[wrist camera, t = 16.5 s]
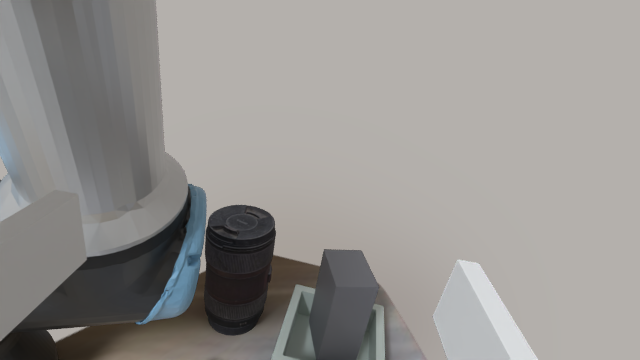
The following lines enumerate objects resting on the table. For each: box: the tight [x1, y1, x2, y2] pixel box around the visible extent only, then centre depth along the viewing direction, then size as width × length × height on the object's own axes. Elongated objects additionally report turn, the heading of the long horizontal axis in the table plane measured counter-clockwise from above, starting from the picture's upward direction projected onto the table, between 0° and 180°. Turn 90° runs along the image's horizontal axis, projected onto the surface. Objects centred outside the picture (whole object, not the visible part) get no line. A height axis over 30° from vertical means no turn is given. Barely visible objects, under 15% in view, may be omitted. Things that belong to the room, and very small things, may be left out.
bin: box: [271, 284, 385, 360], centre depth 41 cm, size 12×12×5 cm
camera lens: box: [204, 205, 276, 335], centre depth 42 cm, size 8×8×15 cm
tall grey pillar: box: [309, 249, 379, 360], centre depth 38 cm, size 4×6×13 cm
